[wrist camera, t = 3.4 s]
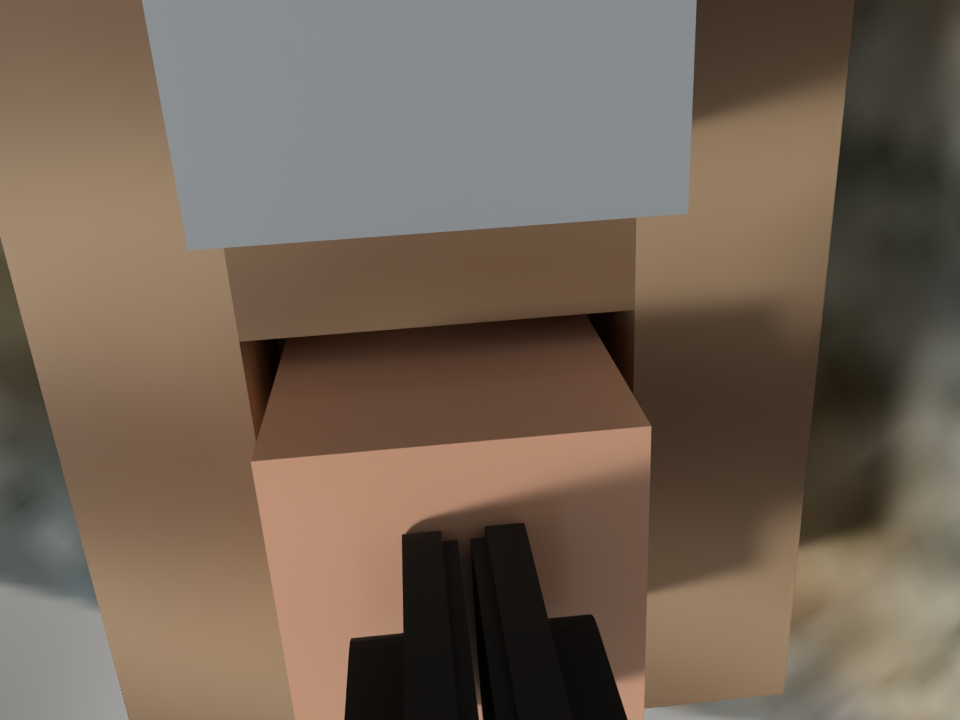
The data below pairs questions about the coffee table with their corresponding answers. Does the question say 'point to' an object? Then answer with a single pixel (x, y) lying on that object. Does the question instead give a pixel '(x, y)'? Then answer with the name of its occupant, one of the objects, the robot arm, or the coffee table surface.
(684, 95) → the grey cube
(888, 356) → the coffee table surface
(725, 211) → the wooden slotted tray
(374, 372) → the key terracotta
